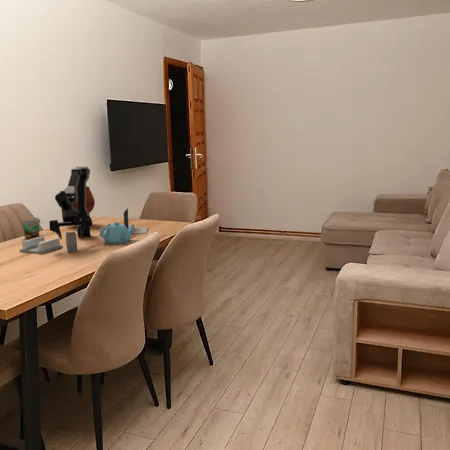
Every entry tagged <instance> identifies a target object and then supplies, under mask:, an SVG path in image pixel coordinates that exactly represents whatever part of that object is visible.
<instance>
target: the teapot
mask: <svg viewBox="0 0 450 450" xmlns="http://www.w3.org/2000/svg"><path fill="white" fill-rule="evenodd" d="M134 227H135V224H133V223H132V224H131V225H130V226H129V229H127V227H126V226H125V225H124V223H123V224H122V223H120V222H119V221H115V222H114V223H113V224H112V223H107V227H105V226H101V228H100V232H99V236H100V238H102V239H104V241H105V242H106V243H107V244H110V245H121V244H126V243H129V242H130V240H131V237H132V236H133V233H132V232H133V229H134Z"/></svg>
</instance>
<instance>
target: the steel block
mask: <svg viewBox="0 0 450 450" xmlns="http://www.w3.org/2000/svg"><path fill="white" fill-rule="evenodd" d="M77 237H78V235H77V232H76V231H68V232H65V244H66V252H67V254H72V253H73V254H74V253H78V239H77Z"/></svg>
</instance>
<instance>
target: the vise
mask: <svg viewBox="0 0 450 450" xmlns="http://www.w3.org/2000/svg"><path fill="white" fill-rule="evenodd" d="M60 240H61V239H60V237H54V238H50V239H47V240H44V241H43V242H40V243H38V246H36V247H33V248H29V249H26V250H25V249H23V248H21V249H19V252H20V253H31V254H39V255H43V254H46V253H49V252H52V251H56V250H58V249H62V248H64V245H61V241H60Z"/></svg>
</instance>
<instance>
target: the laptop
mask: <svg viewBox="0 0 450 450" xmlns="http://www.w3.org/2000/svg"><path fill="white" fill-rule="evenodd" d="M123 225H125V226H126V227H127V229H129V227H130V226H129V208H128V207H127V208H126V209H125V210H124V212H123ZM147 229H148V230H149V227H148V226H144V227H143V226H139V227H137V226H136V227H135V226H134V229H133V232H132V235H133V234H134V235H137V234H140V235H141V233H143V234H146V233H148V230H147Z"/></svg>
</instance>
